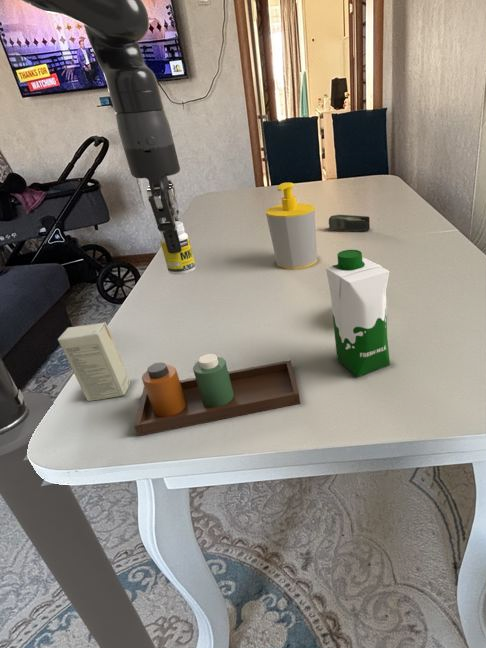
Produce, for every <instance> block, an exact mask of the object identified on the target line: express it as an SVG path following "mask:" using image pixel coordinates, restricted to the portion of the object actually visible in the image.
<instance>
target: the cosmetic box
mask: <svg viewBox="0 0 486 648" xmlns="http://www.w3.org/2000/svg"><path fill="white" fill-rule="evenodd" d="M57 341H58V343H59V345H60V347H61V349H62V351H63V354H64V355H65V358H66V360H67V362H68V364H69V366H70V368H71V370H72V372H73V374H74V376H75V378H76V380H77V382H78V384H79V386H80V388H81V391H82V392H83V395H84V396H85V398H86V400H87V401H88V402H90V401H92V402H93V401H99V400H104V399H111V398H117V397H123V396H125V395H126V393H127V391H128V389H129V387H130V384H131V379H130V377H129V375H128V372H127V370H126V367H125V365H124V362H123V360H122V358H121V356H120V353H119V350H118V348H117V346H116V343H115V341H114V339H113V336H112V334H111V332H110V329H109V327H108V325H107V322H106V321H105V322H98V323H90V324H83V325H76V326H69V327H67V328H66V329H65V330H64V331H63V333H62V334H61V335H60V336H59V337H58V338H57Z"/></svg>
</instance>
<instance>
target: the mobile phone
mask: <svg viewBox="0 0 486 648" xmlns="http://www.w3.org/2000/svg"><path fill="white" fill-rule="evenodd" d="M370 221H371V219H370V216H367V215H352V214H351V215H350V214H335V215H331V216H330V217H329V218H328V227H325V228H324V230H325V231H337V232H368V231H370V228H371V227H370V225H371V224H370Z"/></svg>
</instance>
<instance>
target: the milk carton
mask: <svg viewBox="0 0 486 648" xmlns="http://www.w3.org/2000/svg"><path fill="white" fill-rule="evenodd" d="M325 272H326V276H327V282H328V287H329V292H330V302H331V311H332V312H331V313H332V323H333V332H334V333H333V334H334V341H335V350H336V352H335V353H336V361H338V362H339V363H340V364H341V365H342V366H343V367H344V368H345V369H347V371H349V372H350V373H351V374H352V375H354V377H355V378H360V377H362V376H365V375H367V374H369V373H373V372H375V371H377V370H381V369H383V368H386V367H388V366H390V365H391V360H390V351H389V350H390V349H389V340H388V321H387V320H388V319H387V300H386V297H387V292H386V291H387V288H388V287H387V286H388V281H389V277H390V270H388V269H386V268H384V267H383V266H382V265H381V264H379V263H375V262H374V261H371V260H370V259H368V258H365V257H363V253H362V251H361V250H358V249H345V250H342V251H339V252H337V264H334V265H331V266H328V267H325Z"/></svg>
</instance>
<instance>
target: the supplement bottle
mask: <svg viewBox="0 0 486 648" xmlns="http://www.w3.org/2000/svg"><path fill="white" fill-rule="evenodd" d="M175 222H176V225H177V233H178V236H179V240H180V244H181V248H182V250H181V252H179V253H169V252H168V250H167V246H166V242H165V239H164V235H163V232H161V231H159V233H160V235H161V236H160V237H159V243H160V246H161V250H162V253H163V257H164V261H165V264H166V267H167V271H168V273H169V274H170V275H175V276H177V275H185V274H186V275H187V274H189V273H192V272H193V271H194V270H196V263H195V259H194V255H193V249H192V246H191V242H190V238H189V235H188V233H186V232H185V225H184V223H183V222H182V221H180V220H179V221H175ZM166 223H168V222H166Z"/></svg>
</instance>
